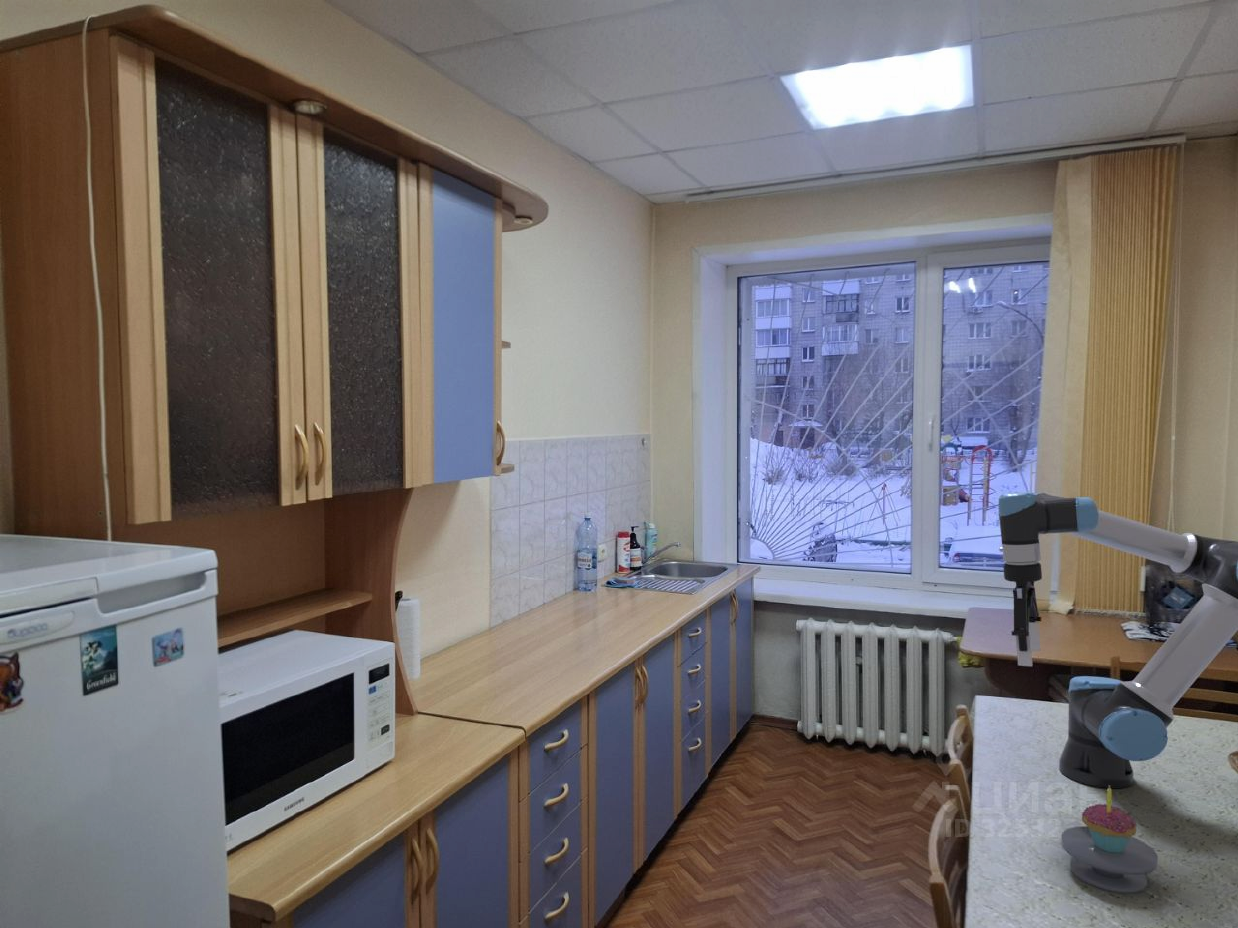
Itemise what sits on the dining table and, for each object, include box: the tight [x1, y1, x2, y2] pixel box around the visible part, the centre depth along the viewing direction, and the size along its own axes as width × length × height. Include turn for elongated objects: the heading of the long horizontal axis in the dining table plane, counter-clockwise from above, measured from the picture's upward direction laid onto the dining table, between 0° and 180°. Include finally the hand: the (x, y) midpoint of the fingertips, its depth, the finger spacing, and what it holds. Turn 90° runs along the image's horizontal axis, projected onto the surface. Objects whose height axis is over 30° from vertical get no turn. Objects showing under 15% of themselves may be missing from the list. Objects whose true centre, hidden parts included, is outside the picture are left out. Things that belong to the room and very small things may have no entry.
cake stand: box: [1061, 825, 1159, 895], centre depth 148 cm, size 15×15×5 cm
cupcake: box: [1081, 785, 1137, 853], centre depth 148 cm, size 9×8×12 cm
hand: (1029, 657), depth 180 cm, fingers open, 13 cm apart
